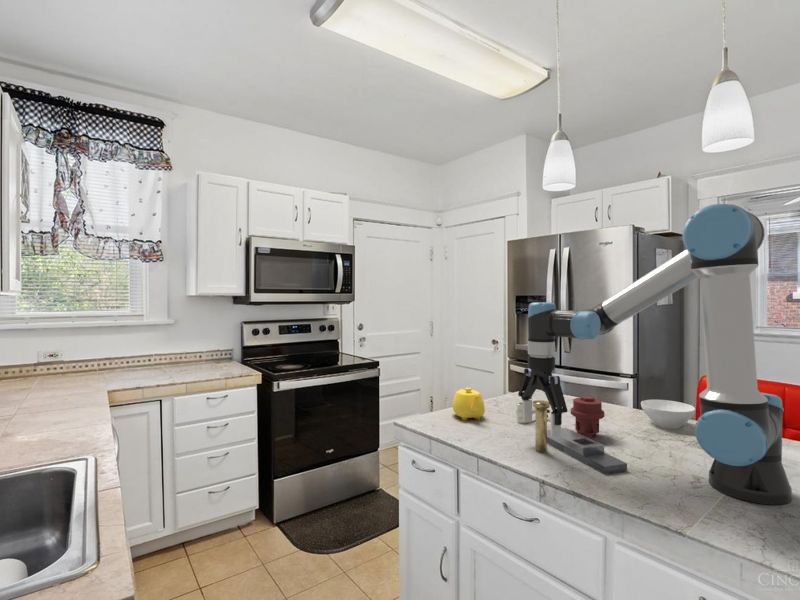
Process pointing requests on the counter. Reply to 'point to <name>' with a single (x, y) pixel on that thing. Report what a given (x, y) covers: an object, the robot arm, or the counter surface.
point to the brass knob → (541, 425)
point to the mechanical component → (587, 415)
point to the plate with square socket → (586, 451)
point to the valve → (520, 412)
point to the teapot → (468, 404)
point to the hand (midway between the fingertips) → (540, 428)
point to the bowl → (668, 413)
